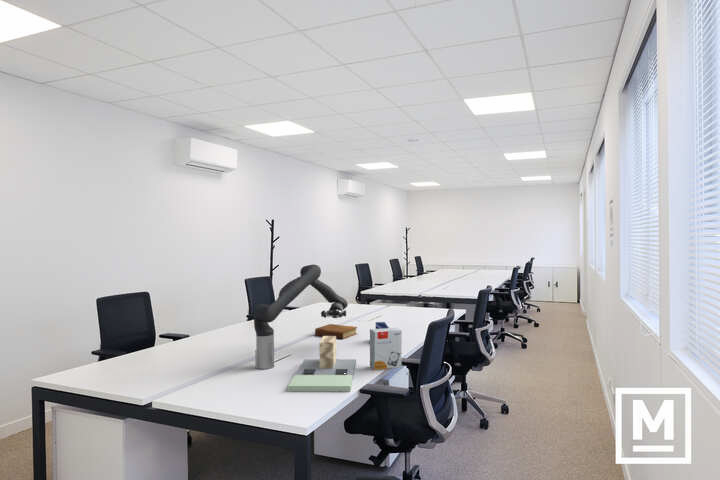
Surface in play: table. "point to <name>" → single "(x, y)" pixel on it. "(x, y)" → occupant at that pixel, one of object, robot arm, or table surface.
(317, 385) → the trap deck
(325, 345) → the maple block
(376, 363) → the hard drive box
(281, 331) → the table surface
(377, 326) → the phone stand
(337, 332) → the diary
